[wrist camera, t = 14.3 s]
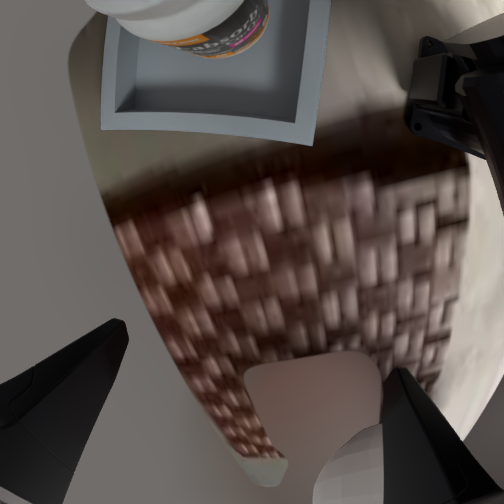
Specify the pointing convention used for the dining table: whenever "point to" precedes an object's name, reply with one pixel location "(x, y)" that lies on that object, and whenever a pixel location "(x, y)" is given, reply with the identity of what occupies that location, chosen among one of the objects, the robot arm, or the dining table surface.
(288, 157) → the dining table surface
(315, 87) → the tray
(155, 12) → the pill bottle
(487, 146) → the robot arm
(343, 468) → the pitcher
